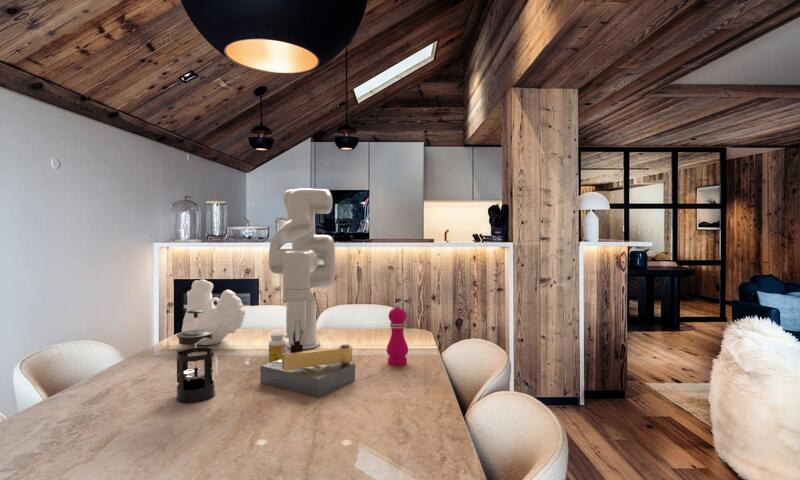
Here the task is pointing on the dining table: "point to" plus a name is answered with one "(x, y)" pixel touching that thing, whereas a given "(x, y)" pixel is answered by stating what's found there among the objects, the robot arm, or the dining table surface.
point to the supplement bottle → (276, 347)
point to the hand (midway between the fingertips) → (296, 358)
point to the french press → (196, 380)
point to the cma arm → (317, 357)
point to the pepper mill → (397, 337)
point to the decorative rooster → (213, 312)
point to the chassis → (308, 377)
